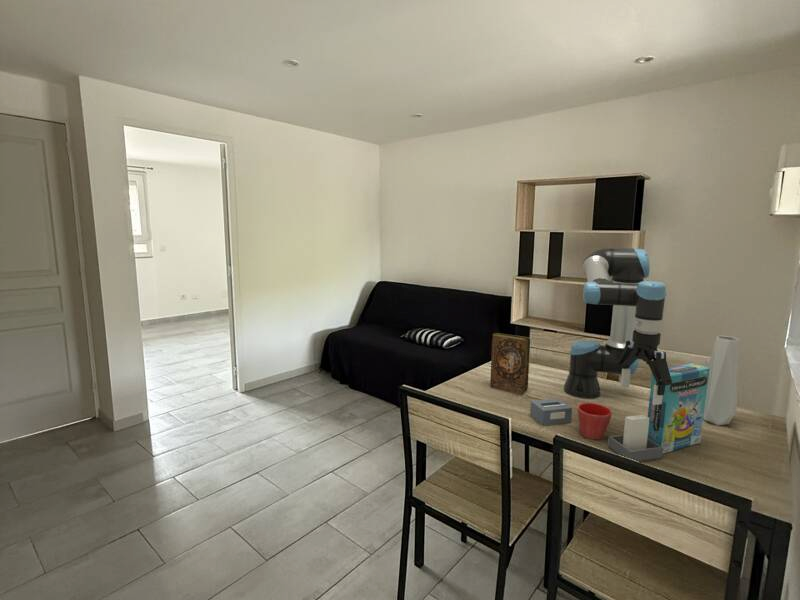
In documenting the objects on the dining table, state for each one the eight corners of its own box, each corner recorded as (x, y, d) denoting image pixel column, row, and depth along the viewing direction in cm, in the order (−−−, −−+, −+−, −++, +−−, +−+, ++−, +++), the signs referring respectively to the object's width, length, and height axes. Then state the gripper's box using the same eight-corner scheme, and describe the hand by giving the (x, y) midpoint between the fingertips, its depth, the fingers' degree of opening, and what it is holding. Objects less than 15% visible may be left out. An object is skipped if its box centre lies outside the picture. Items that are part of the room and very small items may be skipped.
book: (488, 387, 195) (490, 335, 191) (492, 383, 200) (495, 332, 196) (524, 395, 187) (527, 340, 183) (527, 391, 191) (530, 337, 187)
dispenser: (557, 412, 169) (558, 397, 168) (571, 422, 160) (572, 406, 159) (530, 415, 167) (531, 399, 165) (542, 426, 158) (543, 409, 157)
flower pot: (607, 444, 144) (609, 418, 143) (573, 436, 150) (575, 410, 148) (610, 432, 153) (613, 407, 151) (578, 424, 159) (580, 400, 157)
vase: (699, 411, 171) (709, 332, 165) (735, 420, 163) (747, 337, 157) (692, 420, 162) (703, 337, 157) (730, 430, 154) (742, 343, 149)
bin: (638, 443, 145) (639, 432, 144) (661, 459, 135) (663, 447, 135) (607, 447, 142) (608, 436, 142) (629, 463, 133) (630, 451, 132)
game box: (661, 455, 138) (670, 376, 133) (643, 446, 143) (651, 370, 139) (701, 443, 146) (711, 367, 141) (682, 434, 151) (691, 362, 147)
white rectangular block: (640, 448, 141) (643, 414, 139) (645, 452, 138) (649, 417, 136) (622, 450, 139) (625, 416, 137) (627, 454, 137) (630, 420, 135)
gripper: (608, 322, 143) (603, 381, 147) (669, 343, 119) (661, 413, 123) (628, 321, 145) (622, 380, 149) (692, 341, 121) (683, 410, 125)
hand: (639, 395), depth 136 cm, fingers open, 13 cm apart
